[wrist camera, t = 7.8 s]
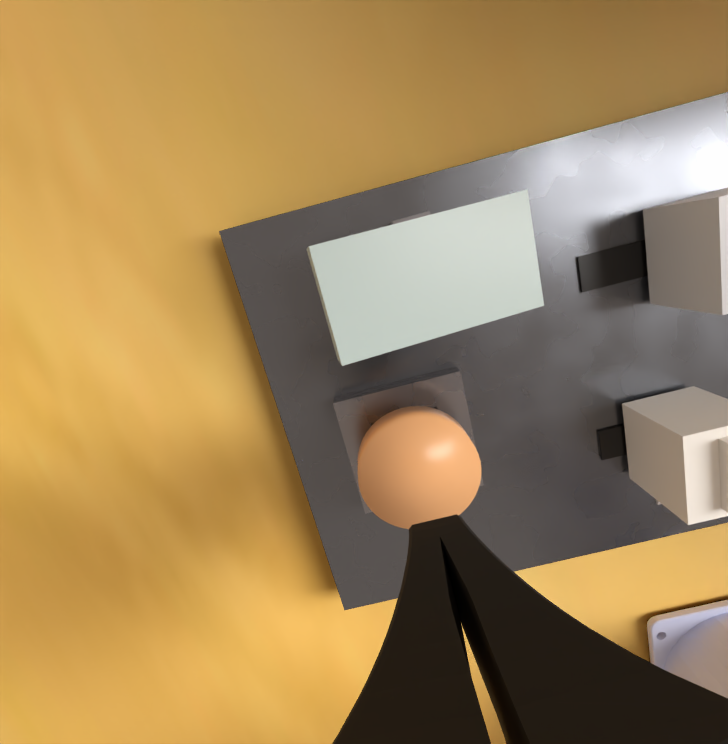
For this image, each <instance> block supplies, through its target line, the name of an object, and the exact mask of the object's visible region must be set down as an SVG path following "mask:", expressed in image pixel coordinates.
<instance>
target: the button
mask: <svg viewBox="0 0 728 744" xmlns="http://www.w3.org/2000/svg"><path fill="white" fill-rule="evenodd" d="M480 481H481V461H480V458H479V454H478V452H477V450H476V447H475V446H474V444H473V443H472V441H471V440H470V438H469V436H468V435H467V433H466V432H465V430H464V429H463V427H462V426H461V425H460V424H459V423H458V422H457V421H456V420H455V419H454V418H453V417H451V416H450V415H448V414H447V413H445V412H443V411H441V410H438V409H435V408H431V407H426V406H409V407H404V408H400V409H397V410H394V411H392V412H390V413H387V414H386V415H384V416H383V417H381V418H380V419H379V420H377V421H376V422H375V423H374V424H373V425H372V426H371V427H370V428H369V430H368V431H367V432H366V434H365V436H364V437H363V439H362V442H361V444H360V447H359V452H358V484H359V489H360V492H361V495H362V497H363V499H364V501H365V503H366V504H367V506H368V507H369V508H370V510H371V511H372V512H373V513H374V514H375V515H376V516H378V517H379V518H380V519H382V520H383V521H385V522H387V523H389V524H391V525H394V526H397V527H400V528H405V529H409V528H410V527H411V526H412V525H414V524H418V523H422V522H426V521H431V520H435V519H439V518H443V517H447V516H452V515H456V514H457V515H460V514H461V513H462V512H463V511H464V510H465V509H466V508H467V507H468V506H469V505H470V503H471V502H472V500H473V499H474V497H475V495H476V493H477V491H478V488H479V485H480Z"/></svg>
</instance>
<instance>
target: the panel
mask: <svg viewBox="0 0 728 744" xmlns="http://www.w3.org/2000/svg"><path fill="white" fill-rule="evenodd" d="M723 188H728V92H726V93H722V94H718V95H715V96H711V97H707V98H704V99H700V100H696V101H693V102H689V103H686V104H682V105H678V106H675V107H671V108H667V109H664V110H660V111H656V112H653V113H649V114H645V115H642V116H638V117H634V118H631V119H627V120H623V121H620V122H616V123H613V124H609V125H605V126H602V127H598V128H594V129H591V130H587V131H583V132H580V133H576V134H572V135H569V136H565V137H561V138H558V139H554V140H550V141H547V142H543V143H540V144H536V145H532V146H529V147H525V148H521V149H518V150H514V151H510V152H507V153H503V154H499V155H496V156H492V157H488V158H485V159H481V160H477V161H474V162H470V163H467V164H463V165H459V166H456V167H452V168H448V169H445V170H441V171H437V172H434V173H430V174H426V175H423V176H419V177H415V178H412V179H408V180H404V181H401V182H397V183H394V184H390V185H386V186H383V187H379V188H375V189H372V190H368V191H364V192H361V193H357V194H353V195H350V196H346V197H342V198H339V199H335V200H332V201H328V202H324V203H321V204H317V205H313V206H310V207H306V208H302V209H299V210H295V211H291V212H288V213H284V214H280V215H277V216H273V217H269V218H266V219H262V220H259V221H255V222H251V223H248V224H244V225H240V226H237V227H233V228H229V229H226V230H222V231H219V232H220V235H221V238H222V241H223V244H224V247H225V250H226V253H227V256H228V260H229V263H230V266H231V269H232V272H233V275H234V278H235V281H236V284H237V287H238V290H239V293H240V296H241V299H242V302H243V305H244V308H245V311H246V314H247V317H248V320H249V323H250V326H251V329H252V332H253V335H254V338H255V341H256V344H257V347H258V350H259V353H260V356H261V359H262V362H263V365H264V368H265V371H266V374H267V377H268V380H269V383H270V386H271V389H272V392H273V395H274V398H275V401H276V404H277V408H278V411H279V414H280V417H281V420H282V423H283V426H284V429H285V432H286V435H287V438H288V441H289V444H290V447H291V450H292V453H293V456H294V459H295V462H296V465H297V468H298V471H299V474H300V477H301V480H302V483H303V486H304V489H305V492H306V495H307V498H308V501H309V504H310V507H311V510H312V513H313V516H314V519H315V522H316V525H317V528H318V531H319V534H320V537H321V540H322V543H323V546H324V549H325V552H326V556H327V559H328V562H329V565H330V568H331V571H332V574H333V577H334V580H335V583H336V586H337V589H338V592H339V595H340V598H341V601H342V604H343V607H344V610H348V609H352V608H356V607H361V606H365V605H370V604H374V603H378V602H383V601H387V600H391V599H396V598H398V596H399V593H400V589H401V585H402V581H403V576H404V571H405V566H406V561H407V554H408V546H409V529H405V528H400V527H397V526H394V525H391V524H389V523H387V522H385V521H383V520H382V519H380V518H379V517H378V516H376V515H375V514H374V513H373V512H372V511H371V510H370V508H369V507H368V506H367V504H366V503H365V501H364V499H363V497H362V495H361V492H360V489H359V484H358V452H359V447H360V444H361V442H362V439H363V437H364V436H365V434H366V432H367V431H368V430H369V428H370V427H371V426H372V425H373V424H374V423H375V422H376V421H377V420H379V419H380V418H381V417H383V416H384V415H386V414H387V413H390V412H392V411H394V410H397V409H400V408H404V407H409V406H426V407H431V408H435V409H438V410H441V411H443V412H445V413H447V414H448V415H450V416H451V417H453V418H454V419H455V420H456V421H457V422H458V423H459V424H460V425H461V426H462V427H463V429H464V430H465V432H466V433H467V435H468V436H469V438H470V440H471V441H472V443H473V444H474V446H475V447H476V450H477V452H478V454H479V458H480V461H481V481H480V485H479V488H478V491H477V493H476V495H475V497H474V499H473V500H472V502H471V503H470V505H469V506H468V507H467V508H466V509H465V510H464V511H463V512H462V513H461V514H460V515H459V516H461V517H462V518H463V520H464V521H465V522H466V524H467V525H468V526H469V527H470V529H471V530H472V531H473V532H474V533H475V534H476V536H477V537H478V538H479V539H480V540H481V541H482V542H483V543H484V544H485V545H486V546H487V547H488V548H489V549H490V550H491V551H492V552H493V553H494V554H495V555H496V556H497V557H498V558H499V559H500V560H501V561H502V562H503V563H504V564H505V565H506V566H508V567H509V568H510V569H511V570H512V571H518V570H522V569H526V568H531V567H535V566H540V565H544V564H548V563H553V562H557V561H561V560H566V559H570V558H574V557H579V556H583V555H587V554H592V553H596V552H601V551H605V550H609V549H614V548H618V547H622V546H627V545H631V544H635V543H640V542H644V541H648V540H653V539H657V538H662V537H666V536H670V535H675V534H679V533H683V532H688V531H692V530H696V529H701V528H705V527H710V526H714V525H718V524H723V523H727V522H728V516H726V517H721V518H717V519H713V520H708V521H704V522H700V523H695V524H691V525H687V524H686V523H685V522H684V521H682V520H681V519H680V518H679V517H677V516H676V515H675V514H674V513H672V512H671V511H670V510H669V509H667V508H666V507H665V506H664V505H662V504H661V503H660V502H659V501H657V500H656V499H655V498H654V497H652V496H651V495H650V494H649V493H647V492H646V491H645V490H644V489H642V488H641V487H640V486H639V485H637V484H636V483H635V482H634V481H632V480H631V479H630V478H629V468H628V458H627V448H626V438H625V428H624V418H623V409H622V403H627V402H631V401H635V400H639V399H643V398H647V397H651V396H655V395H659V394H663V393H667V392H672V391H676V390H680V389H684V388H688V387H692V386H695V387H697V388H700V389H703V390H705V391H708V392H711V393H713V394H716V395H719V396H721V397H724V398H727V399H728V314H726V315H717V314H711V313H705V312H698V311H692V310H685V309H679V308H673V307H666V306H660V305H653V304H650V296H649V283H648V270H647V257H646V244H645V231H644V218H643V210H644V209H648V208H651V207H655V206H659V205H663V204H667V203H670V202H674V201H678V200H682V199H685V198H689V197H693V196H697V195H701V194H704V193H708V192H712V191H716V190H720V189H723ZM527 189H528V196H529V203H530V210H531V217H532V224H533V231H534V238H535V245H536V252H537V259H538V266H539V273H540V280H541V287H542V294H543V301H544V306H541V307H538V308H535V309H531V310H528V311H525V312H521V313H518V314H515V315H511V316H508V317H505V318H501V319H498V320H494V321H491V322H488V323H484V324H481V325H478V326H474V327H471V328H468V329H464V330H461V331H458V332H454V333H451V334H448V335H444V336H441V337H438V338H434V339H431V340H428V341H424V342H421V343H418V344H414V345H411V346H408V347H404V348H401V349H398V350H394V351H391V352H388V353H384V354H381V355H378V356H374V357H371V358H368V359H364V360H361V361H358V362H354V363H351V364H347V365H344V366H342V365H341V364H340V362H339V361H338V359H337V356H336V352H335V349H334V345H333V342H332V338H331V334H330V331H329V327H328V324H327V320H326V317H325V313H324V310H323V306H322V303H321V299H320V295H319V292H318V288H317V285H316V281H315V278H314V274H313V271H312V267H311V264H310V260H309V256H308V253H307V248H308V246H312V245H316V244H320V243H323V242H327V241H331V240H335V239H339V238H343V237H347V236H350V235H354V234H358V233H362V232H366V231H370V230H373V229H377V228H381V227H385V226H389V225H393V224H397V223H400V222H404V221H408V220H412V219H416V218H420V217H423V216H427V215H431V214H435V213H439V212H443V211H447V210H450V209H454V208H458V207H462V206H466V205H470V204H473V203H477V202H481V201H485V200H489V199H493V198H497V197H500V196H504V195H508V194H512V193H516V192H520V191H523V190H527Z"/></svg>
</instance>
